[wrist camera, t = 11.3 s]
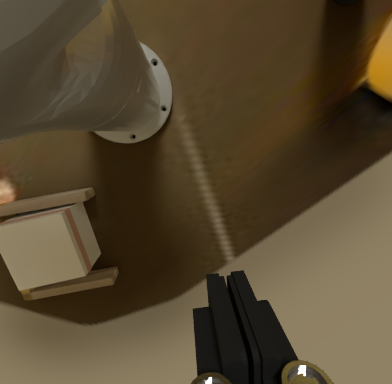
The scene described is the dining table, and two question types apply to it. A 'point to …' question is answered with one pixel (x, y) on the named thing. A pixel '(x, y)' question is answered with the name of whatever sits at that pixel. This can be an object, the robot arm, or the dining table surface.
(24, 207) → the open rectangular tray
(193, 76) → the dining table surface
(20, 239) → the carton
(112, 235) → the dining table surface
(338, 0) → the drinking cup
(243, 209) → the dining table surface
